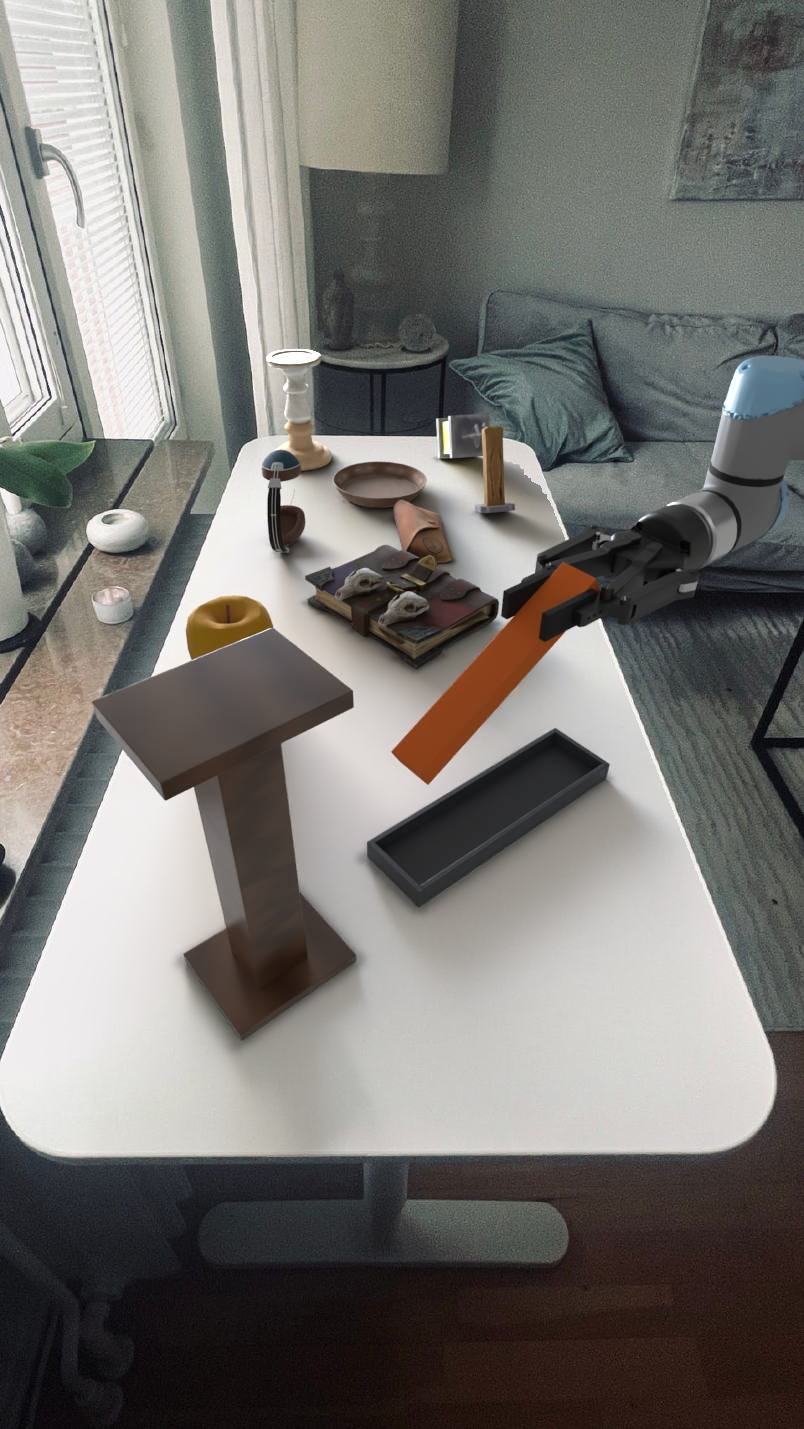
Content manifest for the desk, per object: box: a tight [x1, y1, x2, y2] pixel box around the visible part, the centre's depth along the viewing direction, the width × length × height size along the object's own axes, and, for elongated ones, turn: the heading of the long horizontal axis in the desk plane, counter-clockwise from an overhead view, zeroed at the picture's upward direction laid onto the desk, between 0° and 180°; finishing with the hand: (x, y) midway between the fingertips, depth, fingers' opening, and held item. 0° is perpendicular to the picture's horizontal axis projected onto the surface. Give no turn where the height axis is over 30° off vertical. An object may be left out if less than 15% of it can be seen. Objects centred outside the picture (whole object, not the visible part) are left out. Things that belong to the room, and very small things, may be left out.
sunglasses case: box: [392, 500, 453, 565], centre depth 135 cm, size 18×7×7 cm
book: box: [304, 544, 500, 670], centre depth 116 cm, size 26×18×7 cm
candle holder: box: [265, 348, 332, 472], centre depth 157 cm, size 12×12×20 cm
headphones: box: [261, 449, 306, 554], centre depth 131 cm, size 6×15×22 cm
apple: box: [185, 594, 274, 661], centre depth 98 cm, size 11×11×13 cm
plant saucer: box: [332, 460, 428, 509], centre depth 149 cm, size 18×18×3 cm
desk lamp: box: [435, 412, 516, 514], centre depth 151 cm, size 8×17×30 cm
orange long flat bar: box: [390, 562, 601, 786], centre depth 72 cm, size 24×4×2 cm, turn 129°
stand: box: [91, 627, 357, 1041], centre depth 62 cm, size 14×10×30 cm
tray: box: [366, 727, 611, 908], centre depth 85 cm, size 28×8×2 cm, turn 130°
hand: (524, 616), depth 70 cm, fingers closed on orange long flat bar, 4 cm apart
